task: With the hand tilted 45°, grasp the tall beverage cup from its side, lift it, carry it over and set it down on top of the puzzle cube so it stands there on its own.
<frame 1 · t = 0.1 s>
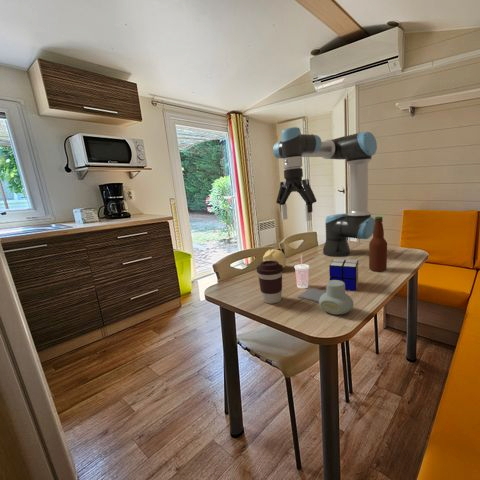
hand: (296, 220, 111), 28 cm above the table, tool pointing down, fingers open, 13 cm apart
air freshener: (335, 311, 89), on the table
bottle: (377, 270, 123), on the table
coffee cup: (271, 300, 102), on the table
beverage cup: (302, 286, 112), on the table
puzzle cube: (344, 285, 109), on the table
slate coaster: (316, 295, 102), on the table
sculpture: (274, 269, 138), on the table
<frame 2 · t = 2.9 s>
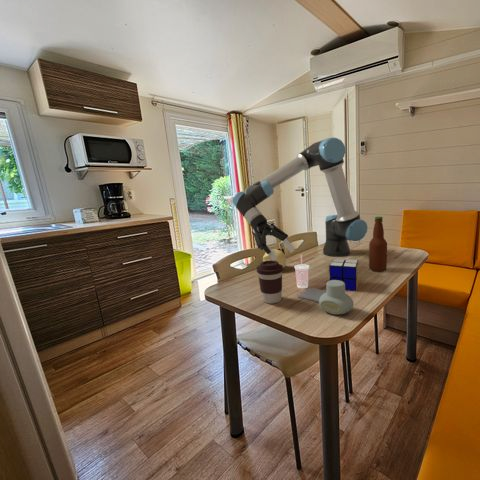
hand: (284, 254, 114), 13 cm above the table, tool tilted 45°, fingers open, 13 cm apart
nothing on the table moved.
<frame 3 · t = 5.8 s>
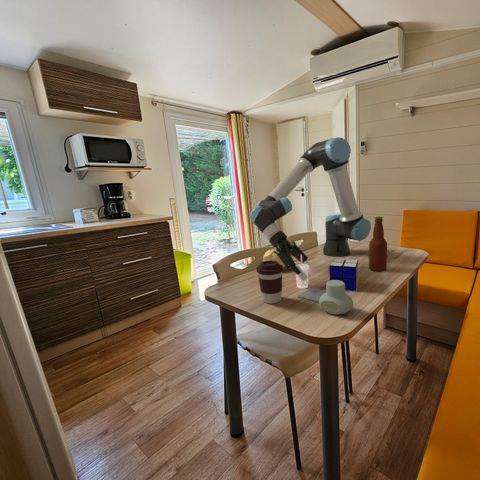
hand: (309, 276, 108), 5 cm above the table, tool tilted 45°, fingers closed on beverage cup, 6 cm apart
beverage cup: (302, 286, 112), on the table, touching gripper
everything else where it was.
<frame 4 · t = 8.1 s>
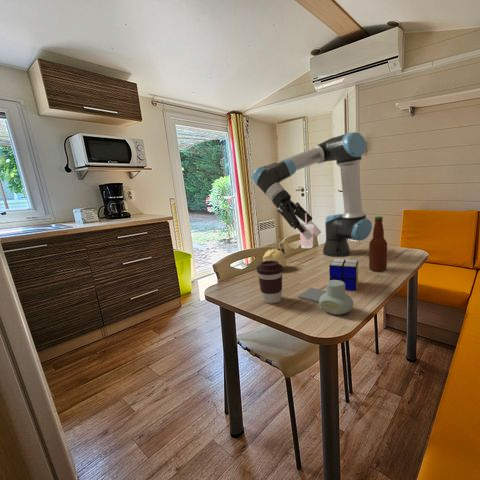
hand: (314, 235, 104), 22 cm above the table, tool tilted 45°, fingers closed on beverage cup, 6 cm apart
beverage cup: (307, 247, 108), point 17 cm above the table, touching gripper
everything else where it was.
when the fingers open (16 cm above the table, at t = 10.3 s): beverage cup drops 1 cm, resting on puzzle cube.
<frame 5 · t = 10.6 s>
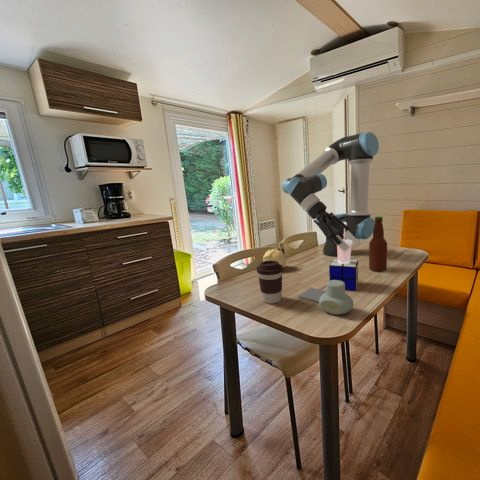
hand: (351, 246, 104), 17 cm above the table, tool tilted 45°, fingers open, 9 cm apart
beverage cup: (343, 262, 107), point 10 cm above the table, touching puzzle cube
puzzle cube: (344, 285, 109), on the table, touching beverage cup
everything else where it was.
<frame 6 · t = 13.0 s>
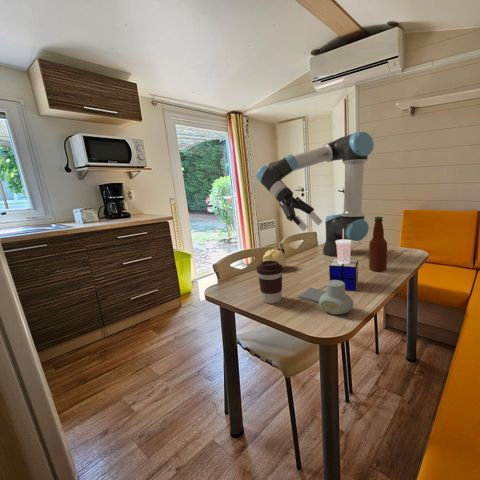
hand: (313, 226, 114), 24 cm above the table, tool tilted 45°, fingers open, 13 cm apart
nothing on the table moved.
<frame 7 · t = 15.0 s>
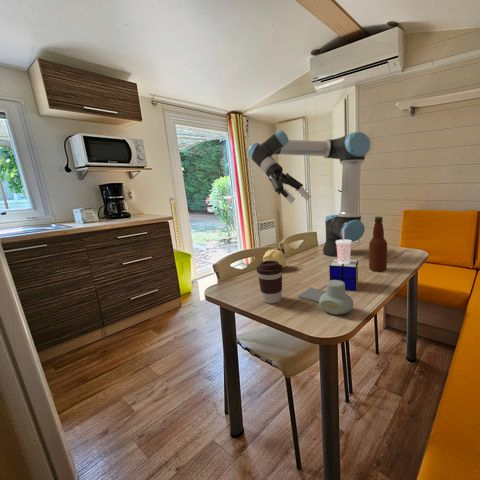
hand: (301, 199, 117), 36 cm above the table, tool tilted 45°, fingers open, 13 cm apart
nothing on the table moved.
at the end: beverage cup inside the target area on the puzzle cube (0.0 cm from its centre), point 10.0 cm above the puzzle cube's base; beverage cup tilted 0°; the gripper is holding nothing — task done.
